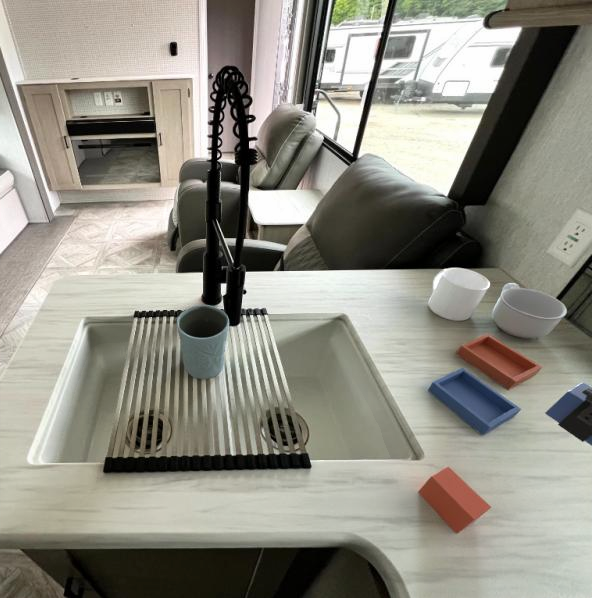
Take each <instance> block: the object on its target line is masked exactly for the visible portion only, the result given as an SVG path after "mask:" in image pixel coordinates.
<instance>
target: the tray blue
mask: <svg viewBox="0 0 592 598" xmlns="http://www.w3.org/2000/svg"><path fill="white" fill-rule="evenodd" d="M427 391H428V393H430V394H431V395H432V396H434V398H436V399H438V401H440V402H441V403H442V404H443V405H444V406H446V407H447V408H448V409H449V410H451V411H452V412H453V413H454V414H456V415H457V416H458V417H459V418H460V419H462V420H463V421H464V422H465V423H467V424H468V425H469V426H470V427H472V428H473V429H474V430H475V431H476V432H478V433H479V434H480V435H481V436H485V435H487V434H488V433H490V432H491V431H493V430H495V429H497V428H499V427H500V426H502V425H504V424H505V423H507V422H508V421H511V420H512V419H515V417H516V416H517V415H518V414H519V412H521V410H522V408H521V407H519V406H518V405H517V404H515V403H514V402H512V401H511V400H510V399H508V398H507V397H505V396H504V395H502V394H501V393H499V392H498V391H497V390H495V389H494V388H493V387H491V386H490V385H488V384H487V383H485V382H484V381H483V380H481V379H480V378H478V377H477V376H475V375H474V374H472V373H471V372H470V371H468V370H467V369H466V368H465V367H460V368H459V369H457V370H455V371H452V372H450V373H448V374H446V375H444V376H441V377H440V378H438V379H435V380H434V381H432V382H431V384H430V385H429V387H428V389H427Z"/></svg>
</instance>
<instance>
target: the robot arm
mask: <svg viewBox="0 0 592 598" xmlns="http://www.w3.org/2000/svg"><path fill="white" fill-rule="evenodd" d="M582 393H583V394H585V395H586V398H585V401H584V402H583V403H581V404H580V405H579V406H578V407H577V408H576V409H575V410H574V411H573V412H571V413H570V414H569V415H568V416H567V417H566V418H565V419H564V420H562V421H561V422H560V423H558V424H557V426H559V427H560V428H562V429H563V430H565V431H566V432H567V433H569V434H570V435H572V436H573V437H575V438H576V439H578V440H579V441H581V442H582V443H583V442H585V440H586V439H588V438H589V437H590V436H591V435H592V390H591V389H589V388H588V389H586V390H584V391H583V392H582Z"/></svg>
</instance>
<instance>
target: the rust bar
mask: <svg viewBox="0 0 592 598" xmlns="http://www.w3.org/2000/svg"><path fill="white" fill-rule="evenodd" d="M418 494H419V495H420V496H421V497H422V498H423V499H424V500H425V501H426V502H427V504H429V505H430V506H431V508H432V509H433V510H434V511H435V512H436V513H437V514H438V516H440V517H441V519H442V520H444V522H445V523H446V524H447V525H448V526H449V527H450V528H451V529H452V530H453V532H454V533H455V534H459V533H460V532H462V531H463V530H465V529H466V528H468V527H469V526H470V525H472V524H473V523H475V522H476V521H477V520H478V519H480V517H482V516H484V514H485V513H487V512H488V511H489V510H491V509H492V506H491V505H490V504H489V503H488V502H486V501H485V500H484V499H483V498H482V497H481V496H480V495H479V494H478V493H477V492H476V491H475V490H474V489H473V488H472V487H471V486H470V485H469V484H467V483H466V481H464V479H463V478H461V477H460V476H459V475H458V474H457V473H456V472H455V471H454V470H453V469H452V468H451V467H450V466H446V467H444V468H443V469H441V470H439V471H438V472H435V473H434V474H432V475H431V476H430V477H429V478H428V479H427V480H426V482H425V483H424V484H423V485H422V486H421V488H420V489H419V490H418Z"/></svg>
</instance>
